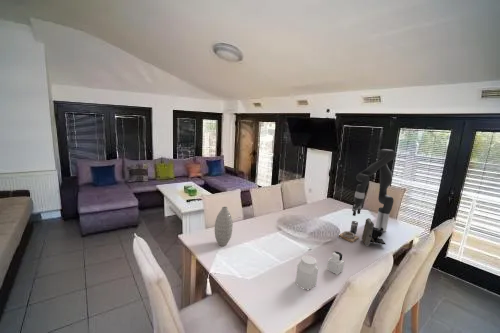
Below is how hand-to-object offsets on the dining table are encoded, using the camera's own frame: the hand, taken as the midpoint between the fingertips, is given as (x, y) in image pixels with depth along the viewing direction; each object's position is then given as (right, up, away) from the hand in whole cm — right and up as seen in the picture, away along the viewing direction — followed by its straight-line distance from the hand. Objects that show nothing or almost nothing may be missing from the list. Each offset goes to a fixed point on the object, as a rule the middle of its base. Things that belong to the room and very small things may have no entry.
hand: (356, 214), depth 201 cm
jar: (-60, -26, -67) cm, 94 cm away
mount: (-10, -18, -7) cm, 21 cm away
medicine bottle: (-38, -25, -53) cm, 70 cm away
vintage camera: (+7, -21, -15) cm, 26 cm away
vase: (-112, -15, -32) cm, 118 cm away
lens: (-1, -17, +3) cm, 17 cm away
